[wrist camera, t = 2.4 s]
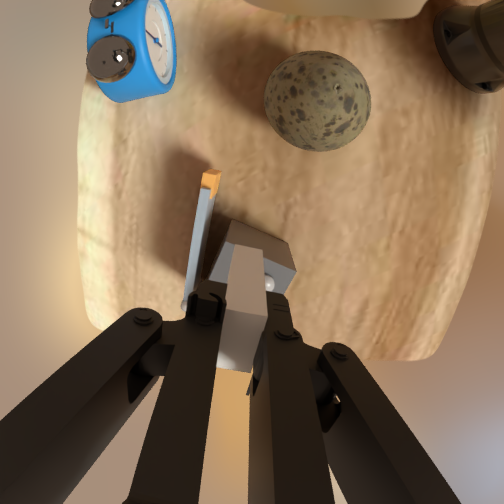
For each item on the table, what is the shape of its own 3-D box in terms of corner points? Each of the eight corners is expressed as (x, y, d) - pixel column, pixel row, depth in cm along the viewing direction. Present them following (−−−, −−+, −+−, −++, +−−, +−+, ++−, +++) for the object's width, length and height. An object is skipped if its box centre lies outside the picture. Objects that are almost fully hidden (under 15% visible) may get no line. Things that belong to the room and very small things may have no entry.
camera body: (232, 218, 38) (225, 243, 29) (287, 243, 39) (297, 274, 30) (201, 290, 42) (187, 329, 33) (252, 310, 43) (251, 352, 34)
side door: (211, 167, 36) (200, 173, 29) (222, 170, 36) (214, 176, 29) (191, 282, 41) (179, 310, 34) (201, 285, 41) (191, 312, 35)
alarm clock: (180, 100, 33) (134, 76, 19) (135, 108, 33) (72, 96, 19) (176, 14, 28) (138, -40, 14) (133, 24, 28) (80, -18, 14)
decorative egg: (250, 133, 34) (247, 125, 20) (278, 57, 31) (292, 8, 17) (331, 162, 35) (376, 175, 21) (357, 88, 32) (413, 63, 18)
